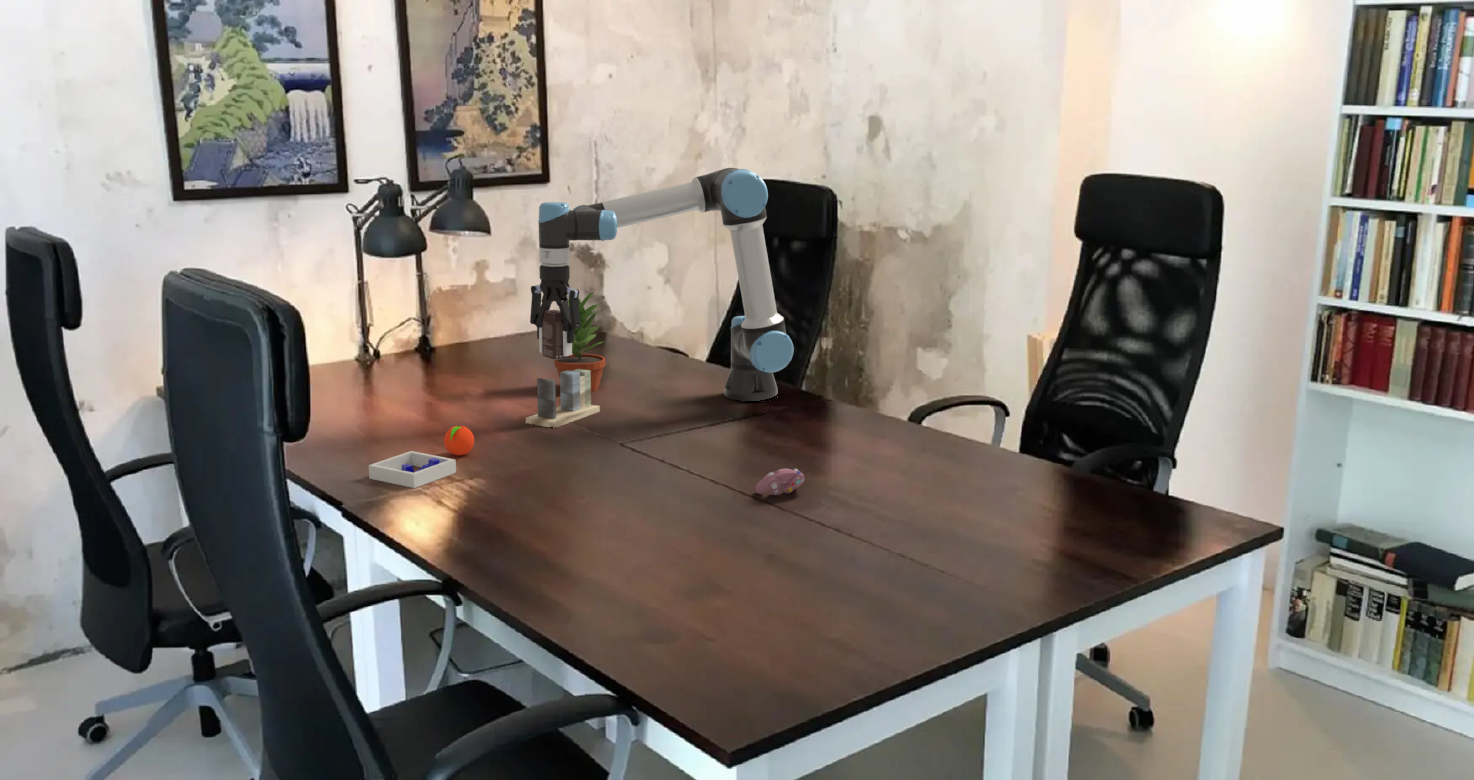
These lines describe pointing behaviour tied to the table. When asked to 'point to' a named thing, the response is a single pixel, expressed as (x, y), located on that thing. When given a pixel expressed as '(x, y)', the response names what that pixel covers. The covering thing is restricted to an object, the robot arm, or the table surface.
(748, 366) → the robot arm
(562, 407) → the book rack
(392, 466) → the desk organiser frame
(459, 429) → the clementine
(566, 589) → the table surface
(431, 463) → the cable holder
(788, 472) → the video game controller
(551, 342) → the box
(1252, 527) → the table surface
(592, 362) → the potted plant
